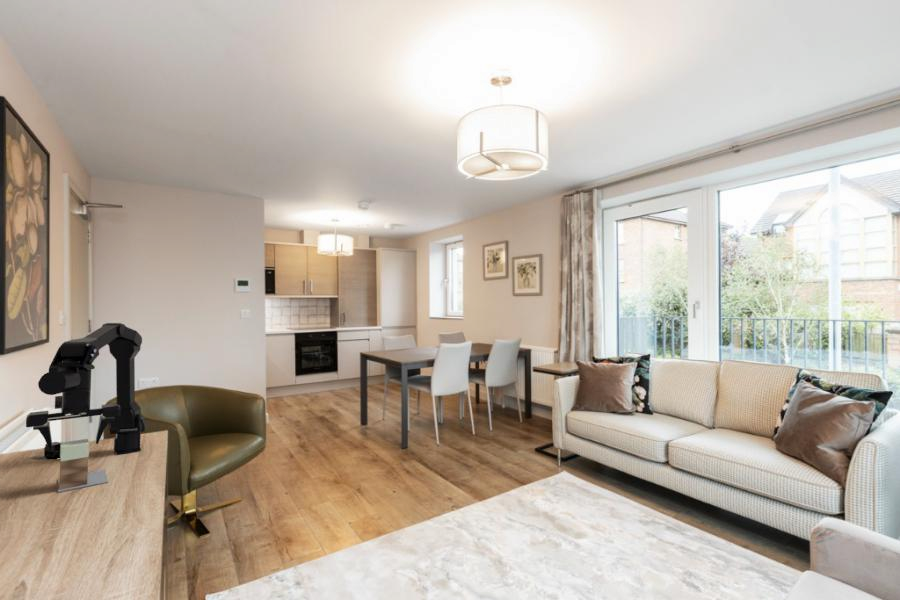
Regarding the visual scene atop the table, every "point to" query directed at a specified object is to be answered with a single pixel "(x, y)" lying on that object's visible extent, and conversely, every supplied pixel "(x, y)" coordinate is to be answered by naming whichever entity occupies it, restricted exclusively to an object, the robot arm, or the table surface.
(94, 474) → the slate mat
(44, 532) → the table surface
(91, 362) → the robot arm
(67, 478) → the walnut block lower
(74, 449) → the sage block
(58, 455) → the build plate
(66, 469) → the walnut block upper
